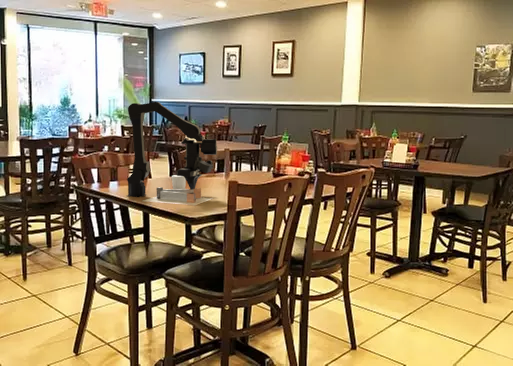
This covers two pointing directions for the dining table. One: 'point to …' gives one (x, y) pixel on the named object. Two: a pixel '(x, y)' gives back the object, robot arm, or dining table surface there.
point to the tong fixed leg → (178, 196)
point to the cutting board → (198, 201)
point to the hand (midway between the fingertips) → (192, 190)
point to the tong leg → (194, 190)
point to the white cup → (178, 182)
